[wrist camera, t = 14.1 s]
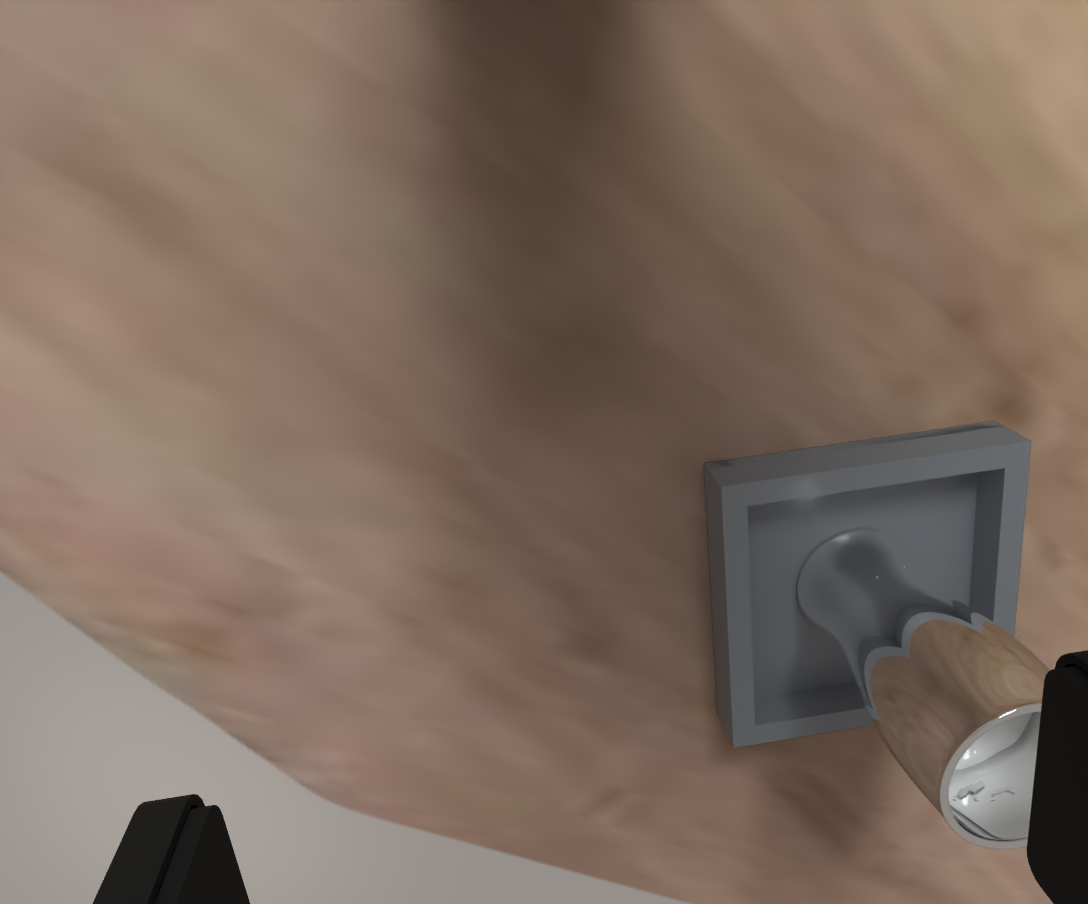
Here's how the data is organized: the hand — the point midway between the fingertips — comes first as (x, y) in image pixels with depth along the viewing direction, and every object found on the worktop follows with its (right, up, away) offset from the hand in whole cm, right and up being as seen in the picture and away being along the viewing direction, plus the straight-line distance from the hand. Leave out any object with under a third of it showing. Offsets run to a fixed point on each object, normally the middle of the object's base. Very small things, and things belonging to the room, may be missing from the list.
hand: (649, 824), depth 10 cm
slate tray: (+15, -2, +37) cm, 40 cm away
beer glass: (+15, -2, +37) cm, 39 cm away
